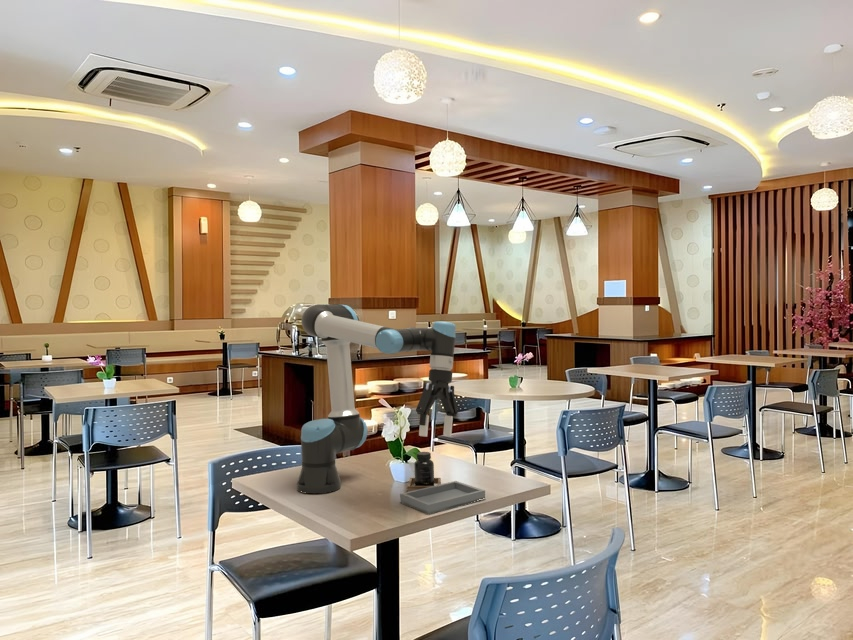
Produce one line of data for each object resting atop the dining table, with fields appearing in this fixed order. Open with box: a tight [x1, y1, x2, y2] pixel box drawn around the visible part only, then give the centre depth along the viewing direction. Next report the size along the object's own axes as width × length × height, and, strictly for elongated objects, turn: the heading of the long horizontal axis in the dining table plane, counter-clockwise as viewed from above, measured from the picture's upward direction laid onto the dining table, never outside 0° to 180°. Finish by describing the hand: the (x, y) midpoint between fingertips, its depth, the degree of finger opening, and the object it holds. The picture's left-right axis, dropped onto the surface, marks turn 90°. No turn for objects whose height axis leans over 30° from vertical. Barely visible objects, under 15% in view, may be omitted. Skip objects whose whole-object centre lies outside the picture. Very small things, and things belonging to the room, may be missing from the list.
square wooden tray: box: [406, 477, 442, 492], centre depth 216 cm, size 11×11×2 cm
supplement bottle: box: [413, 451, 435, 486], centre depth 216 cm, size 7×7×12 cm
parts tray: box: [399, 480, 486, 515], centre depth 200 cm, size 15×23×3 cm, turn 127°
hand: (435, 436), depth 198 cm, fingers open, 13 cm apart
